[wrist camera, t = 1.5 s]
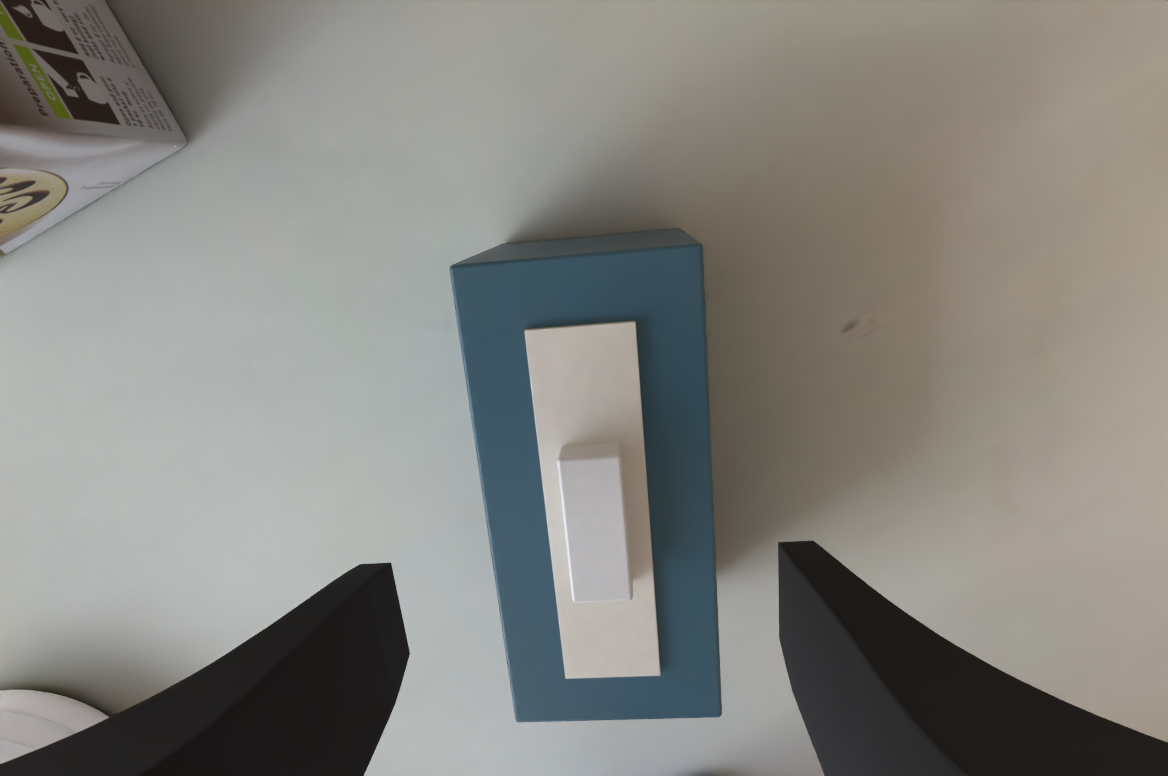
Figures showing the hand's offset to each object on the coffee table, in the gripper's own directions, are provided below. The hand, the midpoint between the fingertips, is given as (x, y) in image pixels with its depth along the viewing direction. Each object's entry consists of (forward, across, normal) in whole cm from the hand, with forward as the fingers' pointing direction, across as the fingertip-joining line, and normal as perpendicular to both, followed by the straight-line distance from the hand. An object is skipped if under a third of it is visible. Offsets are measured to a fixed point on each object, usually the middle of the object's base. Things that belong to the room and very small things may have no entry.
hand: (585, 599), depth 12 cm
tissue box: (+10, 0, 0) cm, 10 cm away
